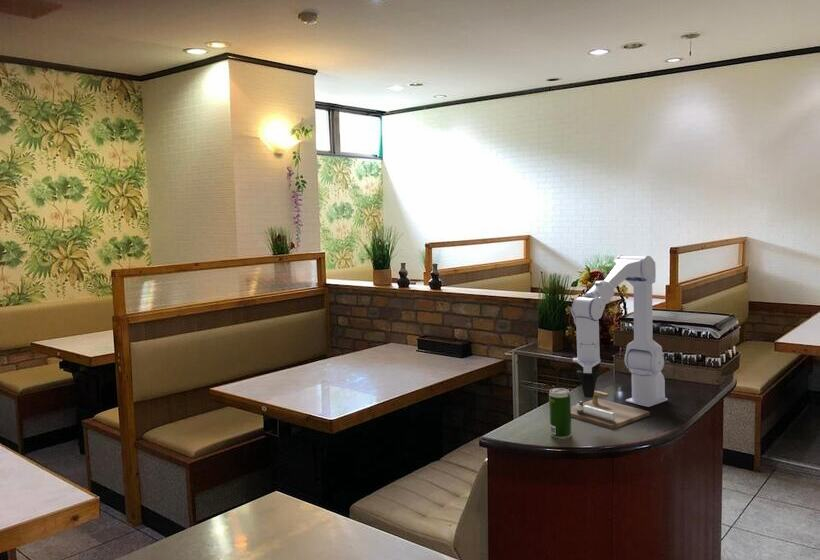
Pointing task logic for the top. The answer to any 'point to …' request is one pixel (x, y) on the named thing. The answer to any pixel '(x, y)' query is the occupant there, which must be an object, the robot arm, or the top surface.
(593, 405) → the board
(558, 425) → the beer can
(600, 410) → the steel link
